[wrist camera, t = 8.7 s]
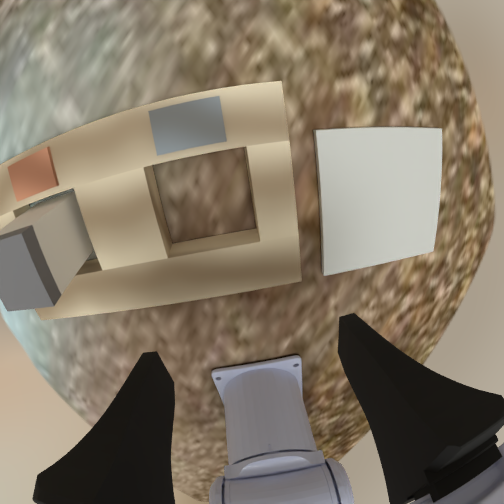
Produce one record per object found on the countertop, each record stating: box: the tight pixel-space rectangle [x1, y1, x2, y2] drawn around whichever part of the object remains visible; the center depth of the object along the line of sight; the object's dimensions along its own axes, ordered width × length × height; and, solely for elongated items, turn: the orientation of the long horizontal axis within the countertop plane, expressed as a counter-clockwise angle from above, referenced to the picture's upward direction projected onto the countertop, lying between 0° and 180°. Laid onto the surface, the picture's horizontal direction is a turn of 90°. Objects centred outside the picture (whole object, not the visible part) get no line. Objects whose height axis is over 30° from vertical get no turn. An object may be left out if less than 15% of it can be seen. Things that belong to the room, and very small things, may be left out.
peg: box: [0, 191, 94, 311], centre depth 14 cm, size 4×4×7 cm
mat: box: [313, 127, 442, 276], centre depth 18 cm, size 10×10×1 cm
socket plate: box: [0, 81, 302, 320], centre depth 16 cm, size 12×20×2 cm, turn 98°
